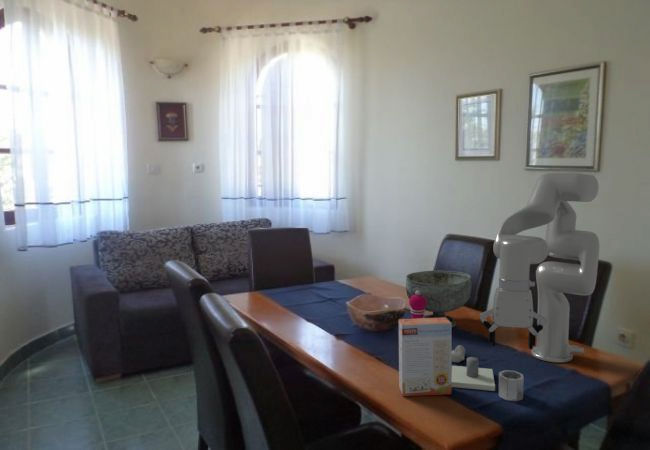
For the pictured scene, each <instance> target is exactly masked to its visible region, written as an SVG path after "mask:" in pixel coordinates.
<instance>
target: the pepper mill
mask: <svg viewBox="0 0 650 450" xmlns="http://www.w3.org/2000/svg"><path fill="white" fill-rule="evenodd" d="M415 294H416V295H413V296H412V297H411V298H410V299H408V301H409V302H408V303H409V306H410V314H411V319H418V318H423V317H424V315H425V313H426V311H425V309H424V307H425V306H426V299H425V297H424V296H422V295H420V291H416V292H415Z"/></svg>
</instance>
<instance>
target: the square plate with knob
mask: <svg viewBox="0 0 650 450" xmlns="http://www.w3.org/2000/svg"><path fill="white" fill-rule="evenodd" d="M479 362H480V360H479V358H478V357H475V356H468V357H467V358H466V366H463V365H460V366H459V365H452V373H451V375H452V377H451V388H458V389H459V388H461V389H469V390H470V389H471V390H481V391H492V392H495V391H496V384H495V378H494V371H493V368H485V367H479V366H480V365H479V364H480V363H479Z"/></svg>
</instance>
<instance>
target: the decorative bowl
mask: <svg viewBox="0 0 650 450" xmlns="http://www.w3.org/2000/svg"><path fill="white" fill-rule="evenodd" d="M405 277H406V281H405V285H406V286H405V291H406V296H407V297H408V300H410V298H411V297H412V296H413V295H416V294H415V292H416V291H420V295H422V296H424V297H425V299H426V306H425V307H424V309H425V312H430V313H432V314H427V315H425V316H423V318H445V317H446V318H447V319H448V320H449V321H450V322H451V323H452V328H454V327H456V325H457V323H456V320H455V319H454V318H453V316H450V315H446V314H445V313H447V312H448V313H450V312H452V311H456V310H458V309H460V308H462V307H464V305H465V304H466V303H468V301H469V300H470V298H471V293H472V279H471V278H472V276H471V275H470V274H469V273H465V272H461V271H455V270H454V271H453V270H442V269H441V270H439V269H438V270H422V271H416V272H411V273H408V274H406V276H405Z"/></svg>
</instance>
